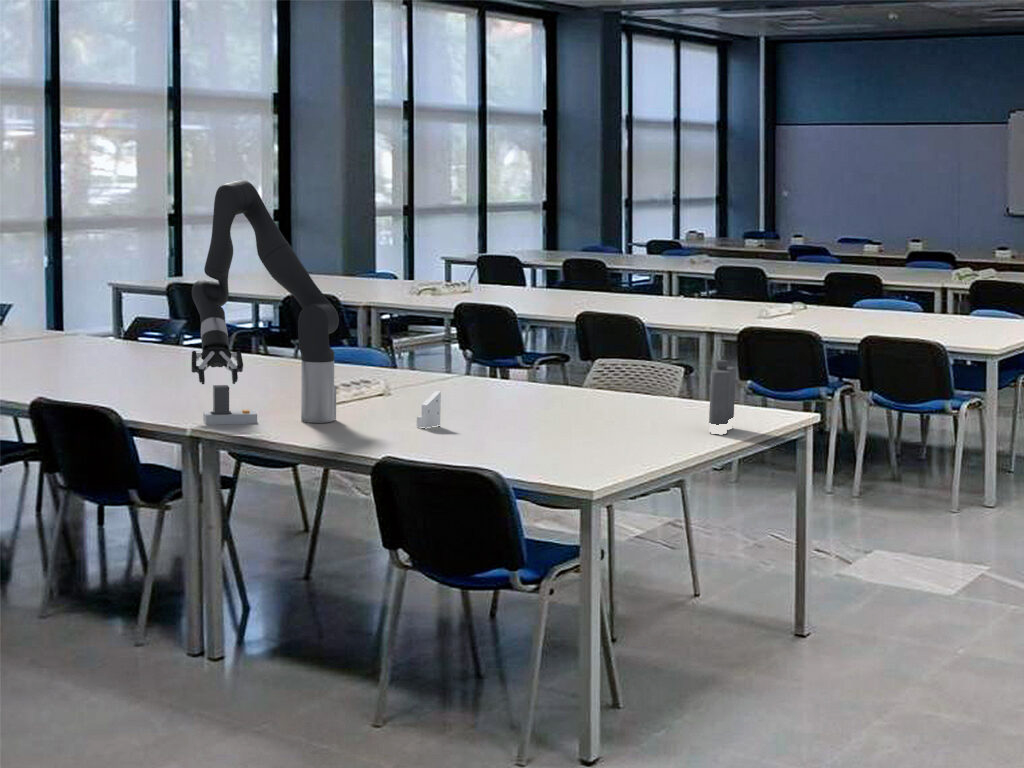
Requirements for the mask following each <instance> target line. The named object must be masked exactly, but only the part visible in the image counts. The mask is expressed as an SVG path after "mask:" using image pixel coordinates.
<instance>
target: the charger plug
mask: <svg viewBox="0 0 1024 768" xmlns="http://www.w3.org/2000/svg"><path fill="white" fill-rule="evenodd" d="M212 411H213V415H228V414H229V411H230V386H229V385H227V384H222V385H221V384H220V385H219V384H218V385H217V384H216V385H214V384H213V385H212Z"/></svg>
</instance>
